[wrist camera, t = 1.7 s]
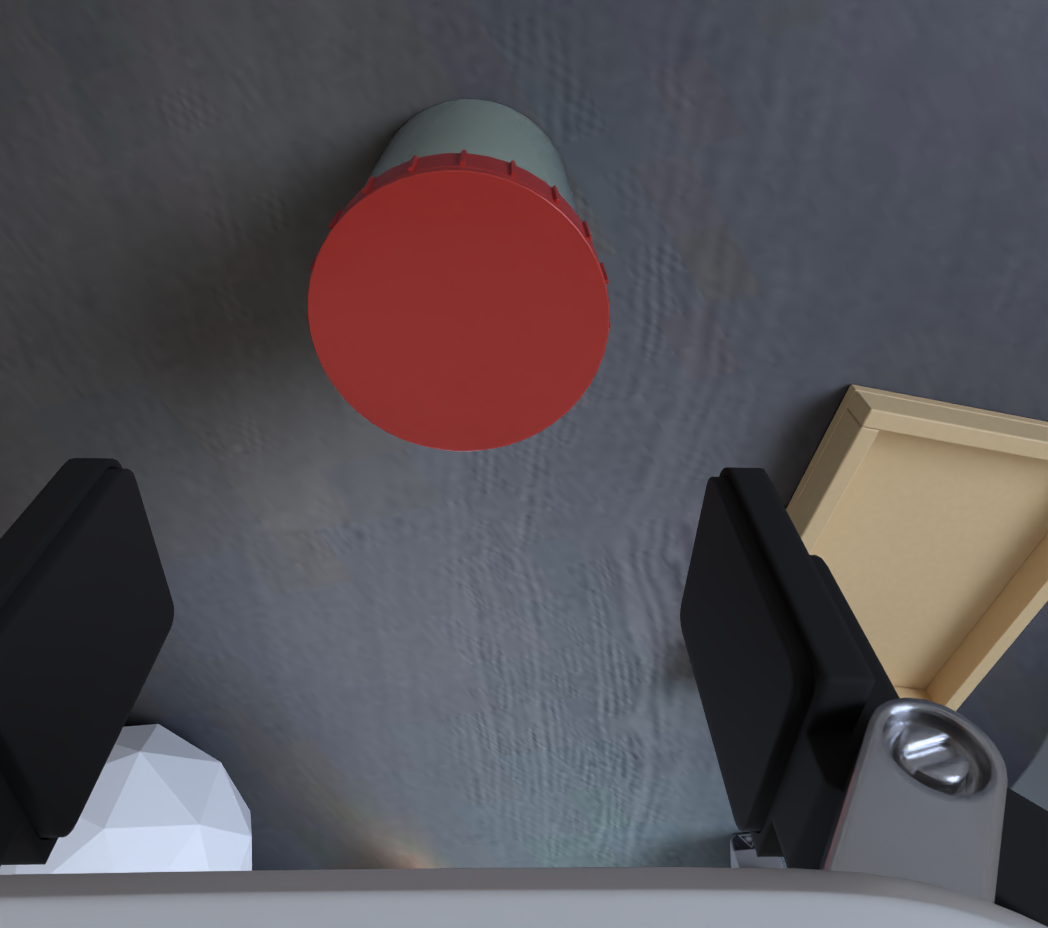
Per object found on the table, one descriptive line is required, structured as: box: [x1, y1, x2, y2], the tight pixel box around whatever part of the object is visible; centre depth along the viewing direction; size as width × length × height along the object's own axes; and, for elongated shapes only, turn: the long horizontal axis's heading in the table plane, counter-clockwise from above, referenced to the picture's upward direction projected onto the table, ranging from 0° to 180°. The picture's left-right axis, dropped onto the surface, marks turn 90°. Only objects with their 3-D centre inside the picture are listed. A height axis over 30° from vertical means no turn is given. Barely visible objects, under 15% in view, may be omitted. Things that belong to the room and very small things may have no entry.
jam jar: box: [364, 99, 579, 217], centre depth 22 cm, size 7×7×9 cm
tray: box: [786, 384, 1048, 711], centre depth 34 cm, size 17×13×2 cm
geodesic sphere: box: [0, 724, 252, 875], centre depth 36 cm, size 15×14×14 cm
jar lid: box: [307, 150, 610, 451], centre depth 18 cm, size 7×7×2 cm
